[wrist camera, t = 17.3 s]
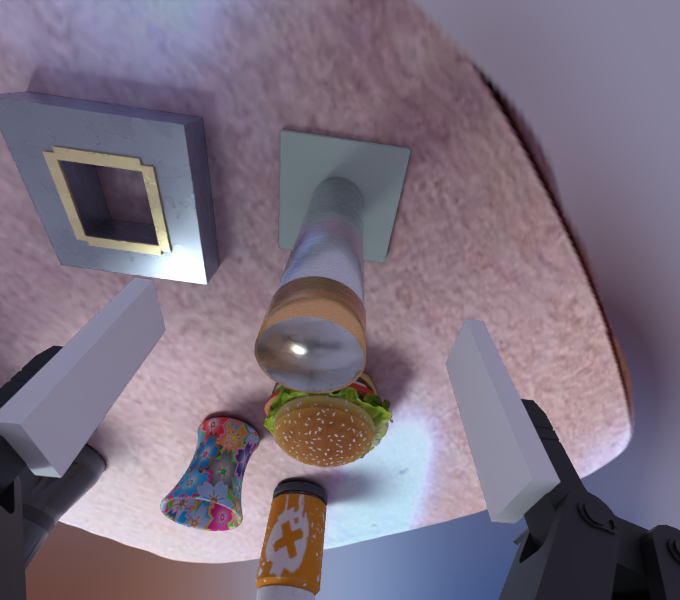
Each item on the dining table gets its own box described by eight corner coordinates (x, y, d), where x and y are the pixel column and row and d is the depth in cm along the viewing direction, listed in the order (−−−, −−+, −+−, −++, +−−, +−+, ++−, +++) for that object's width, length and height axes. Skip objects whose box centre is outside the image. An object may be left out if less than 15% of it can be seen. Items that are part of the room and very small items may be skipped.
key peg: (308, 225, 26) (256, 386, 14) (312, 171, 24) (252, 306, 11) (360, 232, 27) (357, 399, 14) (369, 179, 24) (375, 323, 11)
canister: (323, 477, 53) (305, 662, 37) (332, 507, 59) (321, 675, 43) (269, 477, 54) (229, 656, 38) (284, 506, 60) (255, 670, 44)
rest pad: (280, 244, 28) (278, 248, 28) (282, 129, 23) (280, 130, 22) (383, 259, 29) (384, 262, 28) (409, 148, 23) (410, 150, 23)
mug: (232, 402, 42) (198, 490, 34) (277, 438, 47) (258, 524, 38) (170, 427, 47) (127, 510, 38) (217, 458, 51) (188, 538, 43)
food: (345, 437, 46) (341, 499, 39) (254, 395, 41) (234, 458, 35) (414, 387, 39) (424, 453, 32) (314, 331, 34) (302, 395, 28)
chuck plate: (85, 247, 30) (59, 266, 27) (25, 91, 22) (-18, 96, 20) (219, 266, 30) (205, 285, 27) (202, 117, 23) (182, 125, 20)
